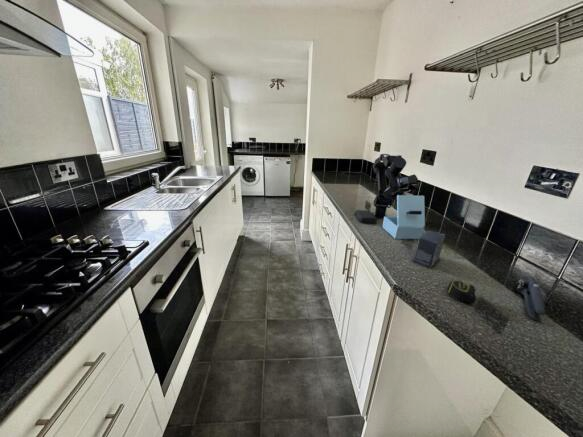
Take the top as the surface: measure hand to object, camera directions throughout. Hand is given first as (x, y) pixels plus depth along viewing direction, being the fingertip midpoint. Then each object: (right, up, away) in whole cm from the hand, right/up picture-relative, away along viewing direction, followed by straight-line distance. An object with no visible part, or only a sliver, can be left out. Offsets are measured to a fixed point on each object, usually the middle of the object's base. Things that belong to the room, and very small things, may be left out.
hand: (408, 206), depth 109 cm
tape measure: (-4, -30, -39) cm, 50 cm away
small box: (-3, -22, -20) cm, 30 cm away
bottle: (-1, -6, +4) cm, 7 cm away
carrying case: (-14, -6, +19) cm, 25 cm away
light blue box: (-2, -13, +4) cm, 14 cm away
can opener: (+15, -31, -41) cm, 54 cm away
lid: (-1, -2, -4) cm, 5 cm away
